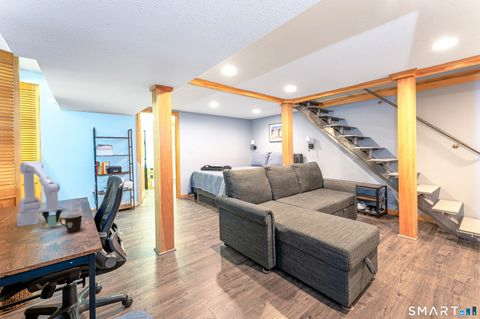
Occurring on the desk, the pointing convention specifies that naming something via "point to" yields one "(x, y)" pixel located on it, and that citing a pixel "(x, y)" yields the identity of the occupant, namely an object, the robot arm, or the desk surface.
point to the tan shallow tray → (44, 224)
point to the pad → (41, 229)
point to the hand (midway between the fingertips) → (52, 222)
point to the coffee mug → (72, 223)
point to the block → (52, 220)
